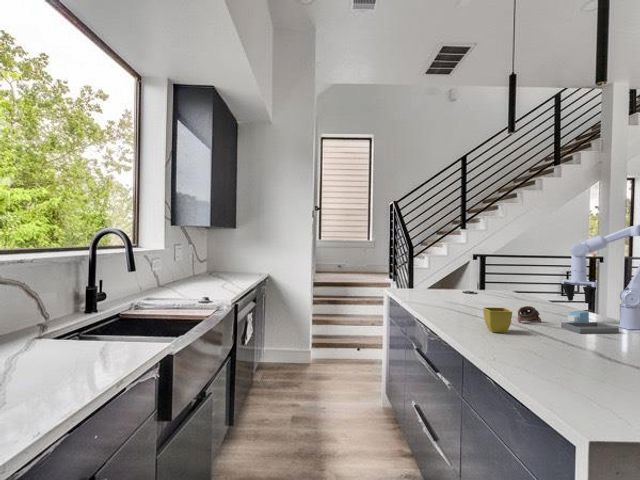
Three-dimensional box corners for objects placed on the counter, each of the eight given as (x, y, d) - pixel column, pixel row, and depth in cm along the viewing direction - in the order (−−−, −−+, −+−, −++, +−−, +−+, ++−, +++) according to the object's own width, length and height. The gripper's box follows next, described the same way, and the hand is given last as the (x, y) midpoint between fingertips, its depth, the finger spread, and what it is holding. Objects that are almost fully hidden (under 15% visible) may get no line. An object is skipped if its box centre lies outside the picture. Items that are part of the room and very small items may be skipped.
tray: (597, 326, 170) (597, 321, 170) (618, 333, 158) (618, 328, 158) (561, 327, 169) (561, 322, 169) (580, 333, 158) (580, 328, 158)
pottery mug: (547, 325, 175) (542, 310, 173) (528, 335, 176) (522, 319, 173) (530, 313, 187) (525, 298, 185) (512, 322, 187) (507, 308, 185)
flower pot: (504, 329, 166) (504, 307, 166) (512, 334, 157) (512, 311, 157) (482, 328, 167) (482, 307, 167) (489, 333, 158) (489, 310, 158)
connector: (581, 321, 181) (581, 310, 181) (591, 323, 177) (591, 311, 177) (566, 323, 177) (566, 311, 177) (575, 325, 173) (575, 313, 173)
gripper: (557, 270, 182) (557, 300, 182) (589, 272, 169) (589, 304, 169) (567, 269, 185) (567, 299, 185) (600, 271, 171) (600, 303, 171)
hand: (578, 301), depth 177 cm, fingers open, 7 cm apart
